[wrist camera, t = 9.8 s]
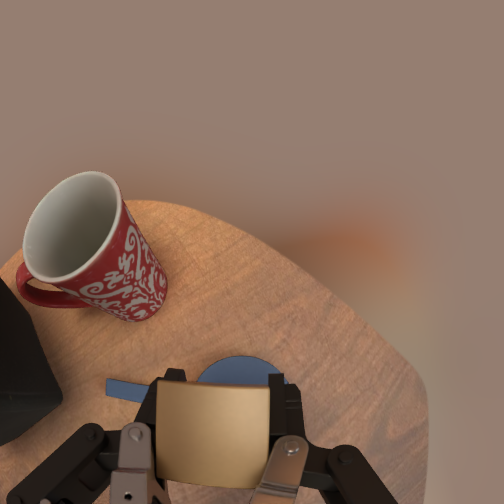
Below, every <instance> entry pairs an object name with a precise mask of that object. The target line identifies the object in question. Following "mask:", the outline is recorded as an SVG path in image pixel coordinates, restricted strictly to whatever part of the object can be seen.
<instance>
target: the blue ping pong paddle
mask: <svg viewBox="0 0 504 504" xmlns="http://www.w3.org/2000/svg"><path fill="white" fill-rule="evenodd" d="M268 373H281V372H280V371H279V370H278V369H276V368H275V367H274V366H273V365H271V364H269V363H268V362H266V361H264V360H261V359H258V358H255V357H250V356H233V357H228V358H225V359H222V360H220V361H217V362H216V363H214V364H212V365H211V366H210V367H208V368H207V369H206V370H205V371H204V372H203V373H202V374H201V376H200V377H199V378H198V380H197V382H213V383H231V384H267V385H268ZM284 384H288V382H287V380H286V379H285V377H284ZM148 389H149V386H147V385H141V384H135V383H129V382H124V381H119V380H114V379H108V378H107V380H106V395H107V396H111V397H115V398H120V399H125V400H129V401H134V402H140V403H142V402H143V400H144V399H145V395H146V393H147V391H148Z"/></svg>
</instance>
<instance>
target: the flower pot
mask: <svg viewBox="0 0 504 504" xmlns="http://www.w3.org/2000/svg"><path fill="white" fill-rule="evenodd" d="M62 400H63V395H62V391H61V390H60V388H59V386H58V384H57V382H56V379H55V377H54V375H53V373H52V371H51V369H50V366H49V364H48V362H47V359H46V357H45V355H44V352H43V350H42V347H41V345H40V342H39V339H38V337H37V334H36V331H35V329H34V326H33V323H32V320H31V317H30V315H29V314H28V312H27V311H26V310H25V308H24V307H23V306H22V304H21V303H20V302H19V301H18V299H17V298H16V297H15V295H14V294H13V293H12V291H11V290H10V289H9V288H8V286H7V285H6V284H5V283H4V281H3V280H2V279H1V277H0V446H2V445H4V444H6V443H8V442H10V441H12V440H14V439H15V438H17V437H19V436H20V435H21V434H23V433H24V432H25V431H26V430H28V429H29V428H30V427H32V426H33V425H34V424H35V423H37V422H38V421H39V420H40V419H42V418H43V417H44V416H46V415H47V414H48V413H49V412H51V411H52V410H53V409H55V408H56V407H57V406H58V405H60V404H61V402H62Z"/></svg>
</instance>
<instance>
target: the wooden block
mask: <svg viewBox="0 0 504 504" xmlns="http://www.w3.org/2000/svg"><path fill="white" fill-rule="evenodd" d="M269 418H270V388H269V387H268V385H267V384H231V383H213V382H187V381H166V380H158V382H157V401H156V476H157V477H158V478H161V479H166V480H171V481H177V482H183V483H189V484H196V485H203V486H212V487H222V488H236V489H255V488H256V486H257V484H259V483H260V481H261V478H262V476H263V473H264V470H265V468H266V465H267V462H268V459H269Z"/></svg>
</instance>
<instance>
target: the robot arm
mask: <svg viewBox="0 0 504 504" xmlns="http://www.w3.org/2000/svg"><path fill="white" fill-rule="evenodd" d="M158 380H166V381H187V380H186V375H185V371H184V370H183V369H174V368H168V369H167V371H166V374H165V376H164V378H163V377H157V378H156V379H155V380H154V381H153V382H152V383H151V384H150V386H149V389H148V391H147V393H146V395H145V399H144V400H143V402H142V404H141V407H140V409H139V411H138V413H137V416H136V418H135V420H134V422H132V423H129V424H127V425H126V426H124V427H123V429H122V430H116V431H104V430H103V428H102V427H101V426H100V425H98V424H95V423H88V424H85V425H83V426H82V427H80V428H79V429H78V430H77V431H76V432H75V433H74V434H73V435H72V436H71V437H70V438H69V439H67V440H66V441H65V442H64V443H63V444H62V445H61V446H60V447H59V448H58V449H57V450H55V451H54V452H53V453H52V454H51V455H50V456H49V457H48V458H47V459H46V460H44V461H43V462H42V463H41V464H40V465H39V466H38V467H37V468H36V469H35V470H33V471H32V472H31V473H30V474H29V475H28V476H27V477H26V478H25V479H23V480H22V481H21V482H20V483H19V484H18V485H17V486H16V487H14V488H13V489H12V490H11V491H10V492H9V493H8V495H7V498H6V502H7V504H92V503H93V502H94V501H95V500H96V499H97V498H98V497H99V496H100V494H101V493H102V492H103V491H104V490H105V489H106V488H107V487H108V486H109V485H110V502H109V504H171V500H170V498H169V494H168V485H167V480H166V479H161V478H158V477H157V476H156V401H157V382H158ZM268 387H269V388H270V418H269V459H268V462H267V465H266V468H265V470H264V473H263V476H262V478H261V481H260V483H259V484H257V486H256V488H255V490H254V492H253V495H252V497H251V500H250V502H249V504H294V502H295V499H296V495H297V492H298V488H299V486H303V487H308V488H313V489H318V490H319V492H320V494H321V495H322V497H323V499H324V501H325V503H326V504H398V503H397V501H396V500H395V499H394V497H393V496H392V495H391V493H390V492H389V491H388V489H387V488H386V487H385V485H384V484H383V482H382V481H381V480H380V478H379V477H378V476H377V474H376V473H375V471H374V470H373V469H372V467H371V466H370V464H369V463H368V462H367V460H366V459H365V457H364V456H363V455H362V453H361V452H360V451H359V449H357V448H356V447H354V446H351V445H339V446H337V447H335V448H333V449H326V448H321V447H317V446H315V445H313V444H311V443H310V442H309V441H308V440H307V438H306V436H305V429H304V420H303V411H302V402H301V393H300V390H299V389H298V387H297V386H296V385H295V384H284V373H268Z"/></svg>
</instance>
